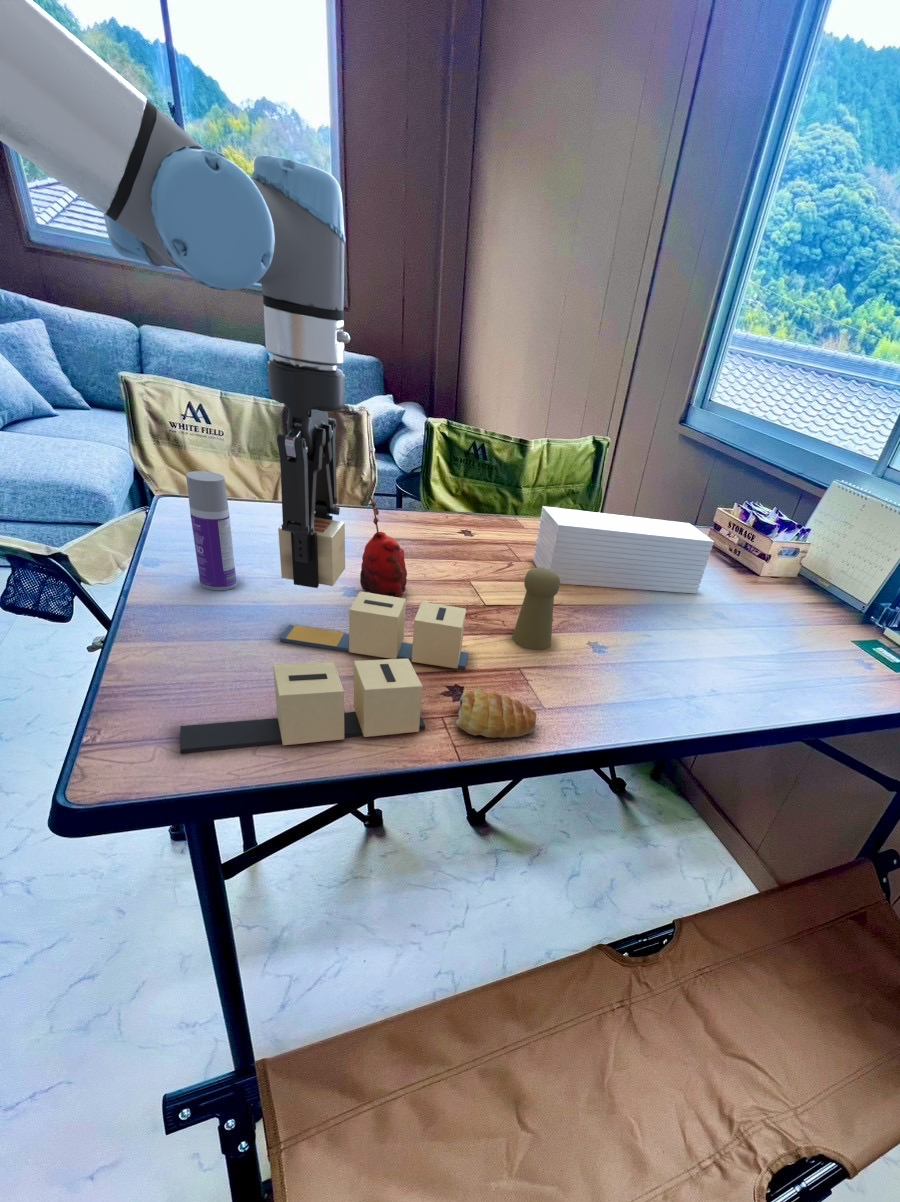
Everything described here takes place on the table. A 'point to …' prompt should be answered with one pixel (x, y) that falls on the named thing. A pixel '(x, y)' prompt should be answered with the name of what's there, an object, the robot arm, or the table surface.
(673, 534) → the stack of papers
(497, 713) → the pastry
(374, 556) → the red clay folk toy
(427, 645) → the right word mat
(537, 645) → the olive pawn figure
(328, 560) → the red striped cream cube
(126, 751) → the table surface
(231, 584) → the container
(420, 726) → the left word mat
